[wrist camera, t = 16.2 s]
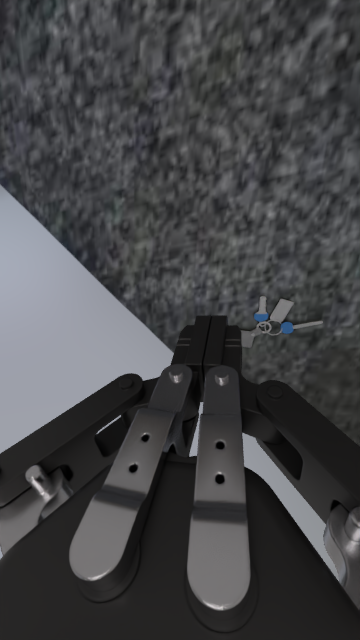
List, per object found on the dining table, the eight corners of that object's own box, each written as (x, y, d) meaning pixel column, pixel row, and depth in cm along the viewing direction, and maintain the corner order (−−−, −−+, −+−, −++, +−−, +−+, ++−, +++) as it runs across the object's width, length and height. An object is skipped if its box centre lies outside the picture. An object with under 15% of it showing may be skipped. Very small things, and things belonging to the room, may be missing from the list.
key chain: (237, 350, 50) (237, 353, 50) (212, 314, 47) (212, 317, 46) (322, 321, 44) (323, 324, 43) (301, 277, 41) (302, 280, 40)
